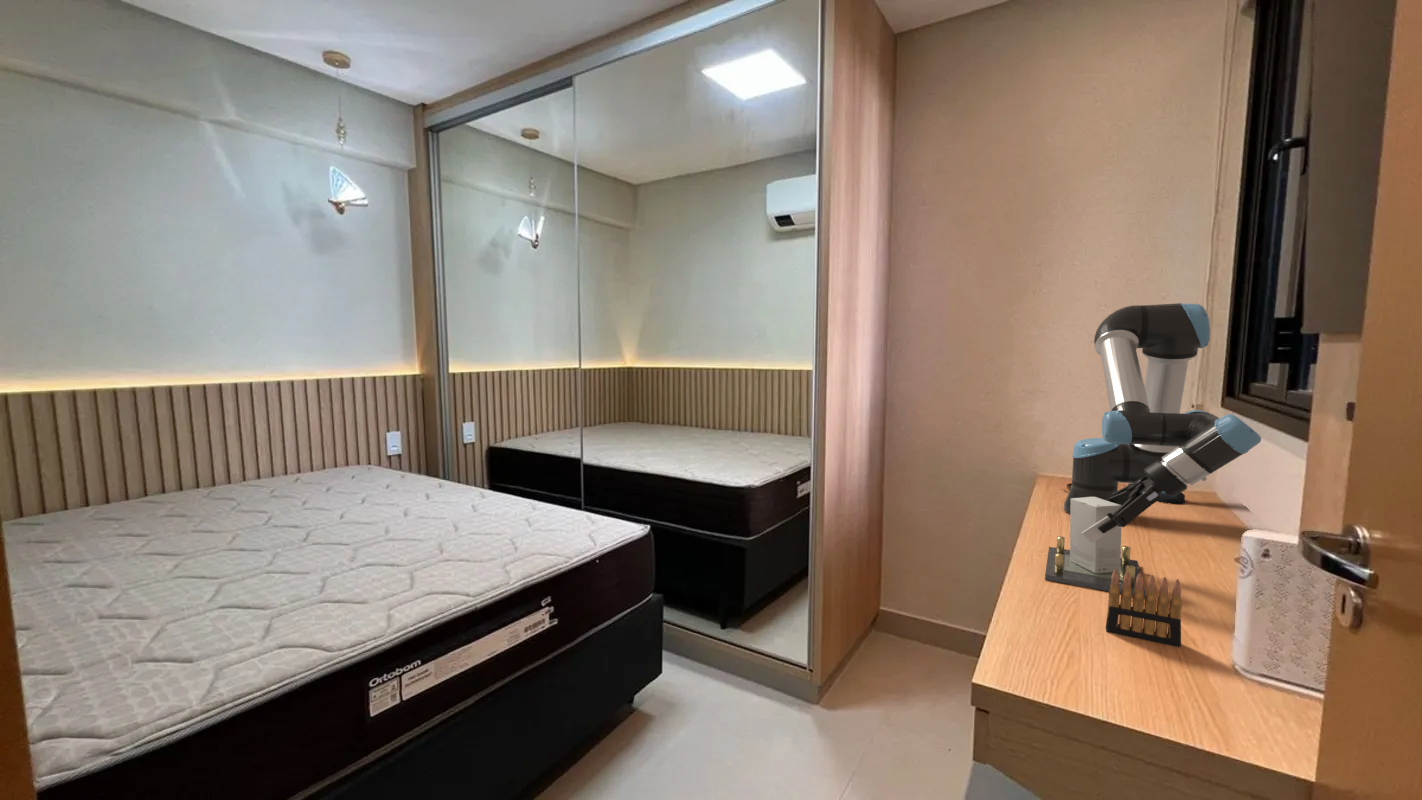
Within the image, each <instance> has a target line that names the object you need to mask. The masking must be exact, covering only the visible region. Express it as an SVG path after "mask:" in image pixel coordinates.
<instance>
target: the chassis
mask: <svg viewBox="0 0 1422 800" xmlns="http://www.w3.org/2000/svg"><path fill="white" fill-rule="evenodd" d="M1065 541H1066V538H1065V537H1064V536H1062V535H1061V536H1060V535H1059V536H1056V547H1055V546H1054V547H1052V546H1049V547H1048V552H1047V553H1048V554H1047V559H1046V567H1045V572H1044V573H1045V574H1044V581H1045V580H1046V581H1050V582H1055V583H1061V584H1066V585H1072V586H1077V587H1082V588H1086V589H1087V588H1088V589H1091V590H1092V589H1093V590H1096V591H1097V590H1098V591H1103V592H1108V593H1109V590H1110V585H1111V578H1112V574H1113V573H1094V572H1092V571H1090V570H1088V569H1086V568H1084V567H1082V566H1080V565H1078V564H1076V563H1073V562H1071V561H1070V549H1066V548H1065V543H1066V542H1065ZM1127 571H1128V572H1129V574H1130V577H1131V593H1132V597H1133V594H1134V590H1135V583H1136V579H1137V576H1138V574H1139V573H1141V569H1140V566H1139V561H1138V560H1135V559H1131V547H1130V546H1128V545H1121V571H1120V572H1118V576H1119V591H1120V595H1121V592H1122V587H1123V580H1124V576H1125V573H1126V572H1127ZM1141 574H1142V573H1141ZM1145 588H1146V587H1145V585H1144V583H1143V589H1144V599H1145V596H1146V593H1147V591H1146V589H1145Z"/></svg>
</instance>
